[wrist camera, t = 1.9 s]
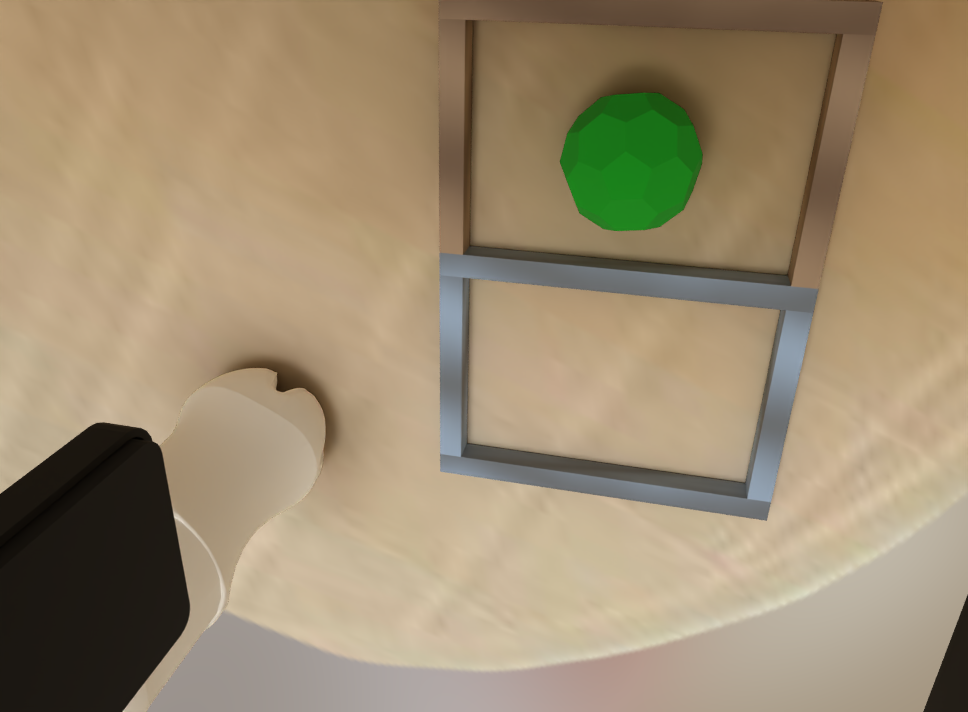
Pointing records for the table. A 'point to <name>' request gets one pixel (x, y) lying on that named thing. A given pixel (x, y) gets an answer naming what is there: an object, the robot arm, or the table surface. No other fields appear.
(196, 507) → the water bottle
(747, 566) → the table surface
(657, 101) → the polyhedron
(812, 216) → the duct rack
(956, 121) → the table surface
